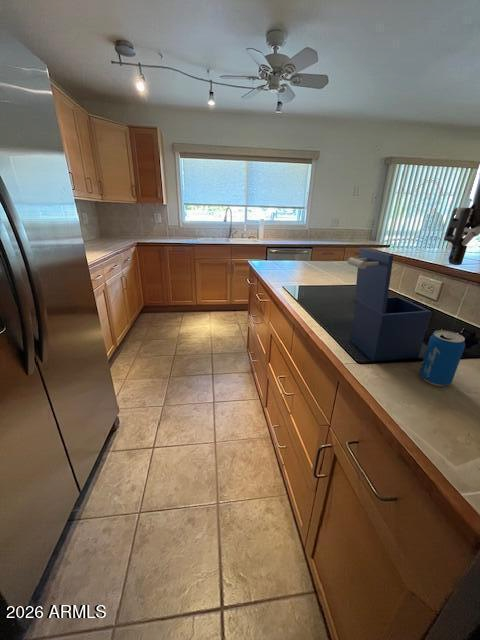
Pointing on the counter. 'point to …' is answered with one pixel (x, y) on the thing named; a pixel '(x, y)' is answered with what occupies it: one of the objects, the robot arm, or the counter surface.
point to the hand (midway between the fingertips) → (473, 263)
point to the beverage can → (442, 357)
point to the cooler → (389, 329)
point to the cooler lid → (373, 277)
